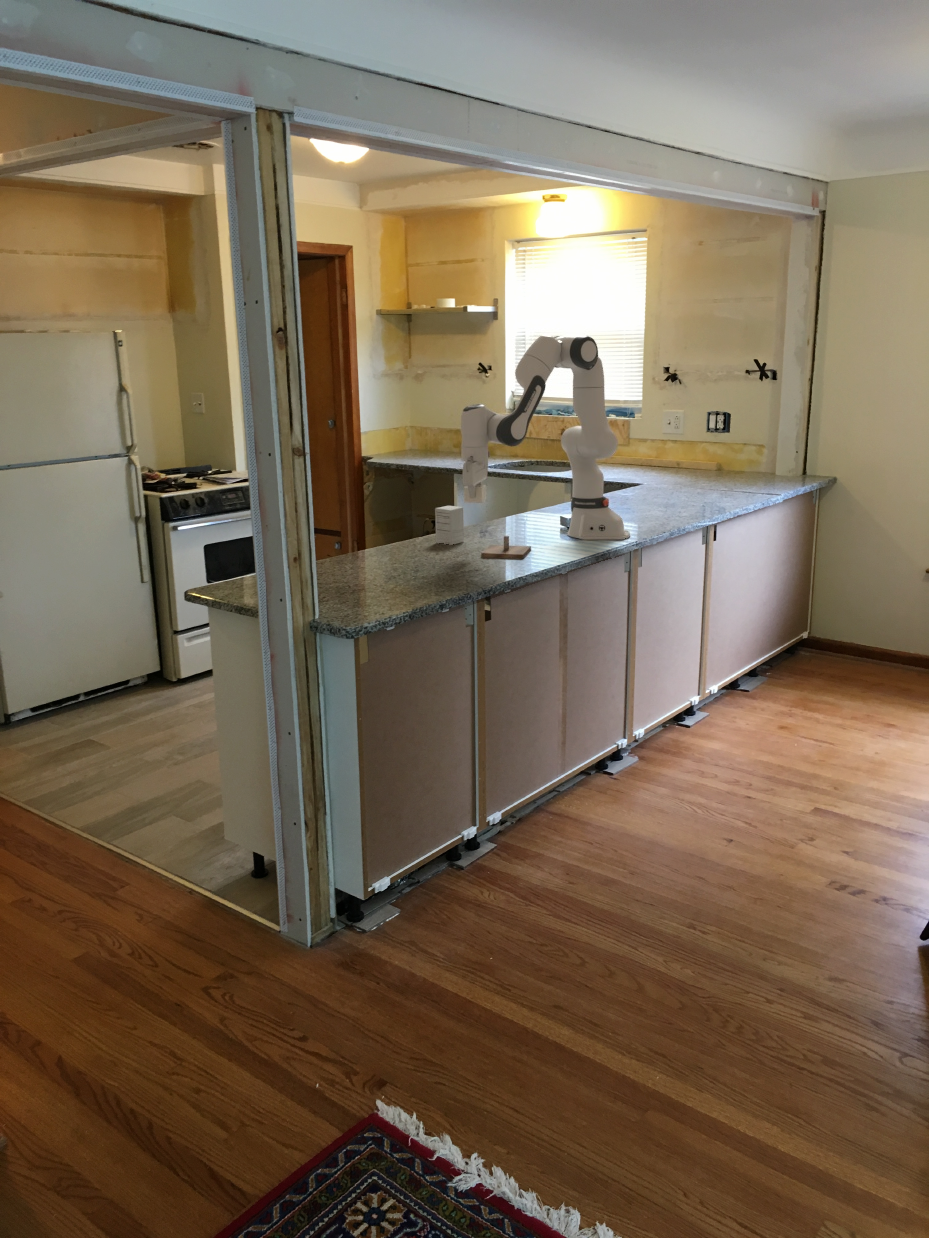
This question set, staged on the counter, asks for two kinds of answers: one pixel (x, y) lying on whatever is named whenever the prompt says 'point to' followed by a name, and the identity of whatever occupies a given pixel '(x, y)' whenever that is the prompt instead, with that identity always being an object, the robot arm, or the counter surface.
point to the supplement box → (449, 525)
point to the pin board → (506, 551)
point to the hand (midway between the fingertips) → (475, 496)
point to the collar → (480, 494)
